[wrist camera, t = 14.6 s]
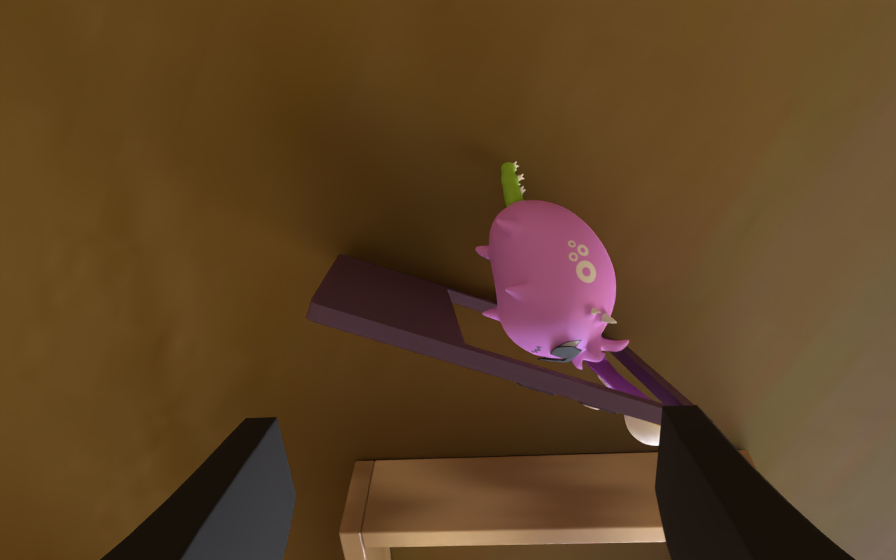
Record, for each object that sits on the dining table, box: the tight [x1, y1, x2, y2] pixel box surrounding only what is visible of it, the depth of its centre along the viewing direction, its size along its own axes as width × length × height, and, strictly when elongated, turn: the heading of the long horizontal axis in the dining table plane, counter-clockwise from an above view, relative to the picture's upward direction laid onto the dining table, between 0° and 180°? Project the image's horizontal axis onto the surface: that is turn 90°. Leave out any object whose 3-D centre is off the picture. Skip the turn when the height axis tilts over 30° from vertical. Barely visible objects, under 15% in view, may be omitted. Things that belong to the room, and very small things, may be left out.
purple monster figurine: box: [306, 161, 713, 445], centre depth 18 cm, size 7×5×9 cm
